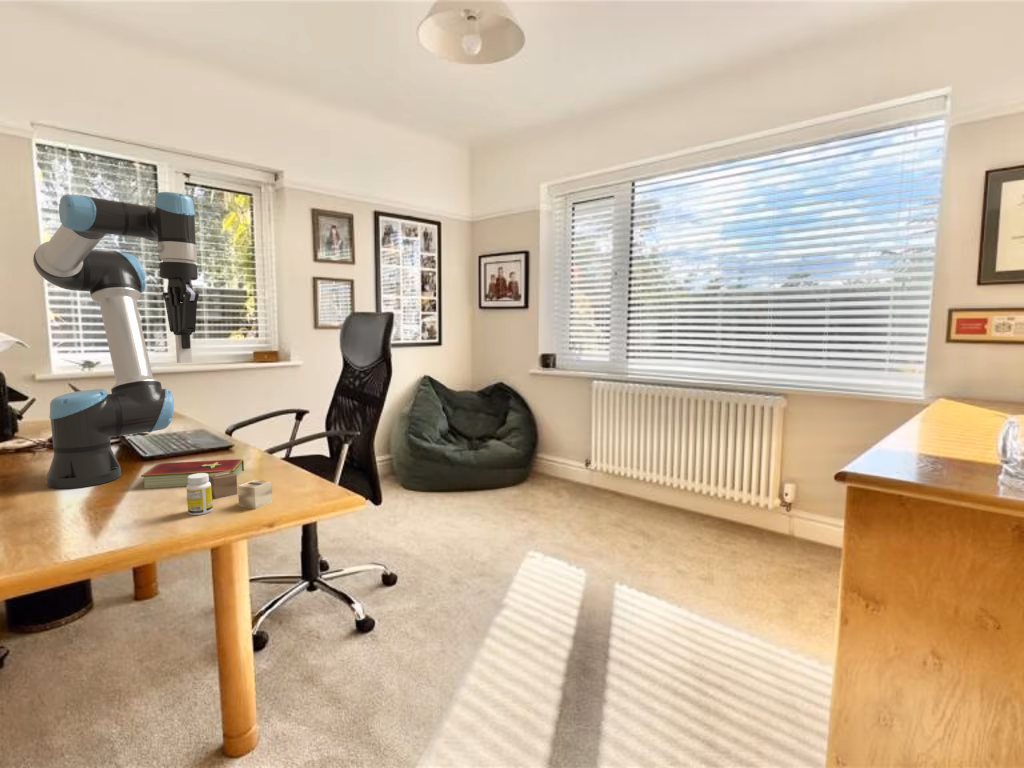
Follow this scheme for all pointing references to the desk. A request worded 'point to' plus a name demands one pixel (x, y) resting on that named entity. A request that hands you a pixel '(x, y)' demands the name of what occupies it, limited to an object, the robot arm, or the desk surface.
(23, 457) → the desk surface
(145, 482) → the hardcover book
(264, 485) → the beech block
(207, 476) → the supplement bottle
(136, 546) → the desk surface
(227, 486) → the walnut block
